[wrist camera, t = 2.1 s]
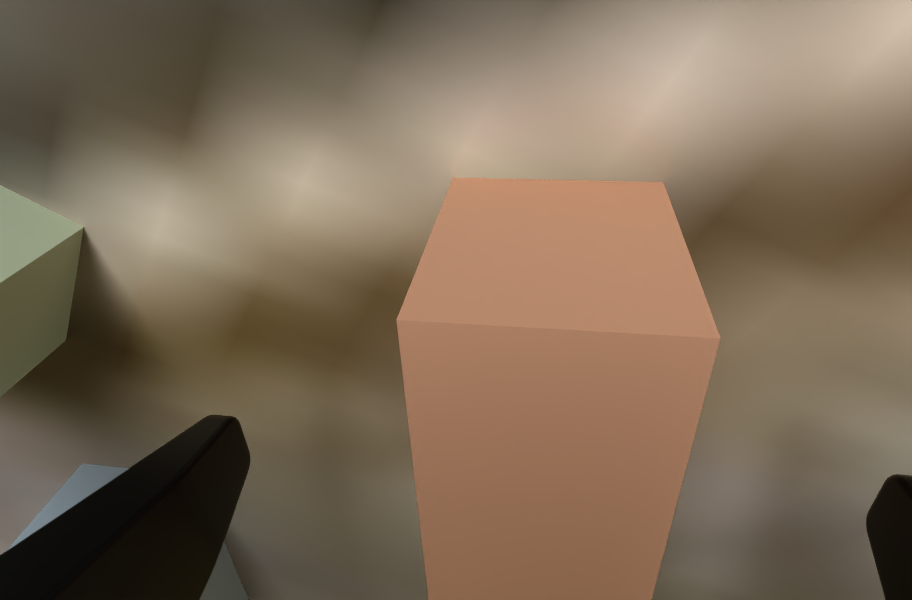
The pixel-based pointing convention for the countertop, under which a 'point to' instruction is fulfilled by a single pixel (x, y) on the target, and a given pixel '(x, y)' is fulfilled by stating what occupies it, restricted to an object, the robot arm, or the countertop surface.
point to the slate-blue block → (224, 585)
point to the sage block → (33, 283)
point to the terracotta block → (552, 387)
